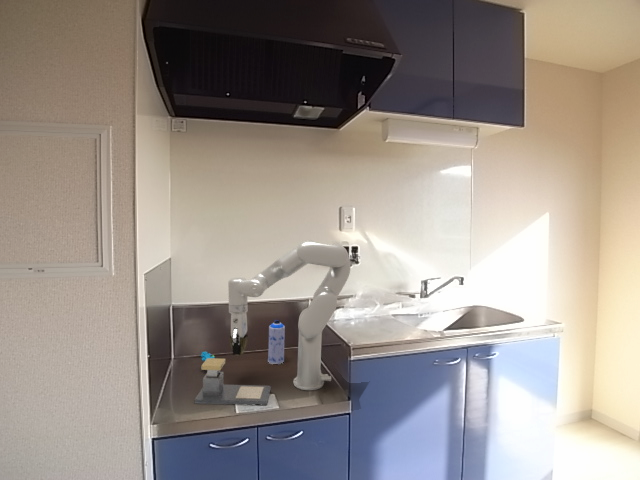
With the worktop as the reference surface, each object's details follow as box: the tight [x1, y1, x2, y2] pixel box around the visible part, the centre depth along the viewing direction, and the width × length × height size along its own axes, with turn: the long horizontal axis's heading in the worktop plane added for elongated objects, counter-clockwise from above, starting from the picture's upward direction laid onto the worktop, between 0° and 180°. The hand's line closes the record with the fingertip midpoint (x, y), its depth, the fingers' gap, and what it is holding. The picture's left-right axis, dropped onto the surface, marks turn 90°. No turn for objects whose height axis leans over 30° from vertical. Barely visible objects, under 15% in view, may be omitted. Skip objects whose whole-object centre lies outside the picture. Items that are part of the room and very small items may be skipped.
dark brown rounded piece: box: [228, 333, 249, 356], centre depth 144 cm, size 8×7×8 cm
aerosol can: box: [267, 318, 286, 365], centre depth 166 cm, size 8×8×20 cm
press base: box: [193, 371, 271, 406], centre depth 132 cm, size 26×12×8 cm, turn 91°
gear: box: [200, 351, 215, 362], centre depth 156 cm, size 11×6×10 cm
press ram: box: [200, 357, 226, 378], centre depth 132 cm, size 7×7×8 cm
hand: (238, 350), depth 144 cm, fingers closed on dark brown rounded piece, 6 cm apart
